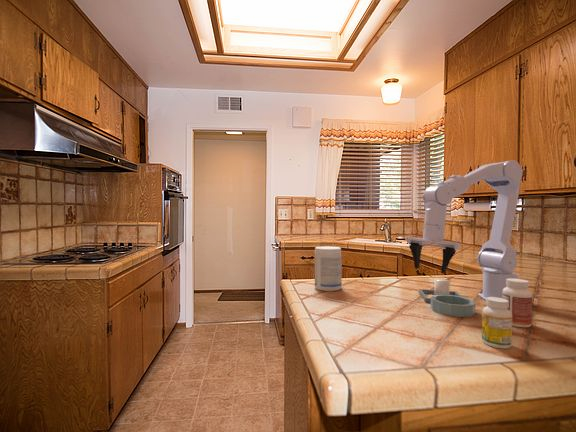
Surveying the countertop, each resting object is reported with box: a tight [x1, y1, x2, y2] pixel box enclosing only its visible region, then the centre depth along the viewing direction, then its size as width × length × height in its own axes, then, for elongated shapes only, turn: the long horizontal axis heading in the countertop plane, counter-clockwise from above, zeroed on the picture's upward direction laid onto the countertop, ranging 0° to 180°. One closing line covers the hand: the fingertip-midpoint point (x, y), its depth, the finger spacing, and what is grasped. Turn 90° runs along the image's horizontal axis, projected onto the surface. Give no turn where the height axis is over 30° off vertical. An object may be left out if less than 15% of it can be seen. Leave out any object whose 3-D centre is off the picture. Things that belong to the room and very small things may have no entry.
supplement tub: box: [314, 245, 343, 292], centre depth 115 cm, size 10×10×15 cm
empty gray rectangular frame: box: [418, 288, 464, 304], centre depth 104 cm, size 12×12×1 cm
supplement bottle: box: [481, 297, 513, 350], centre depth 69 cm, size 5×5×10 cm
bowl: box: [429, 294, 477, 318], centre depth 91 cm, size 11×11×3 cm
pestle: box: [433, 278, 451, 296], centre depth 104 cm, size 4×4×6 cm
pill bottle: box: [502, 278, 533, 328], centre depth 81 cm, size 6×6×11 cm
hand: (429, 270), depth 97 cm, fingers open, 7 cm apart
